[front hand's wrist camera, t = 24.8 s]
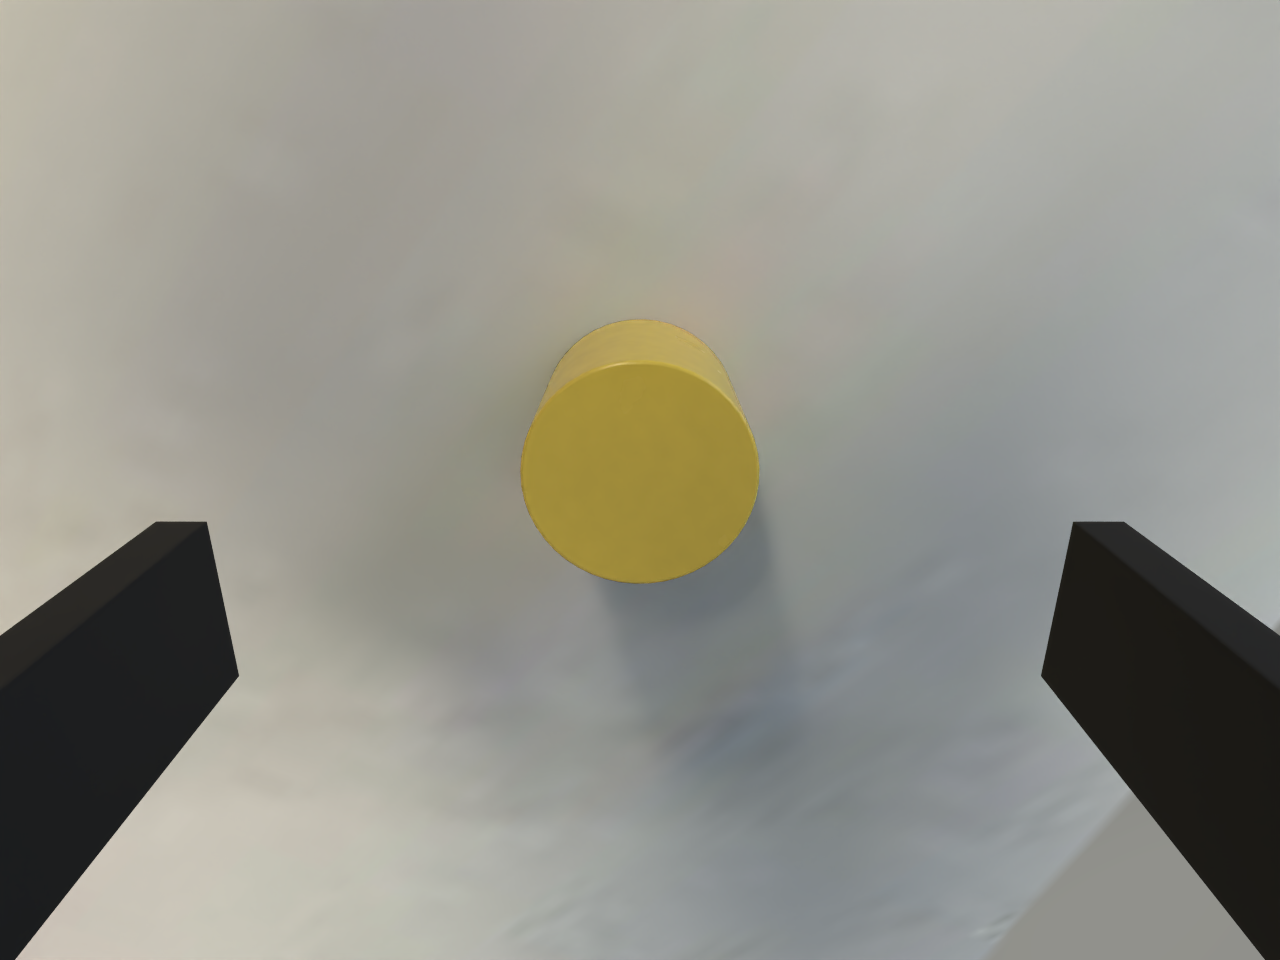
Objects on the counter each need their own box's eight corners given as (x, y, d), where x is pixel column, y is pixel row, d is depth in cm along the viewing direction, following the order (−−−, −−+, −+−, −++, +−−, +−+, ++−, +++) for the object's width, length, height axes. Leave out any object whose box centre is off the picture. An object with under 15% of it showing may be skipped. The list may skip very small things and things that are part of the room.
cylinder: (559, 302, 21) (537, 339, 17) (754, 338, 21) (785, 385, 17) (532, 485, 23) (506, 564, 18) (712, 515, 23) (730, 601, 19)
